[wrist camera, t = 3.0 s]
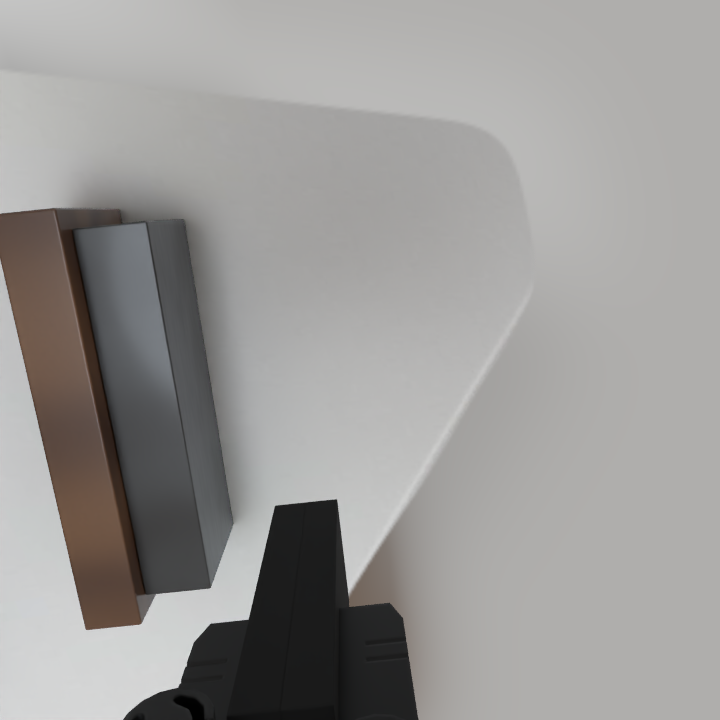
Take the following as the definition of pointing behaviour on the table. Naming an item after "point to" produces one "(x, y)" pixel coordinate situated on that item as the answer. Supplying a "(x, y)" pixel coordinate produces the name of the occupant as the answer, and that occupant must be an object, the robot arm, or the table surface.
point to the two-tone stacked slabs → (120, 402)
